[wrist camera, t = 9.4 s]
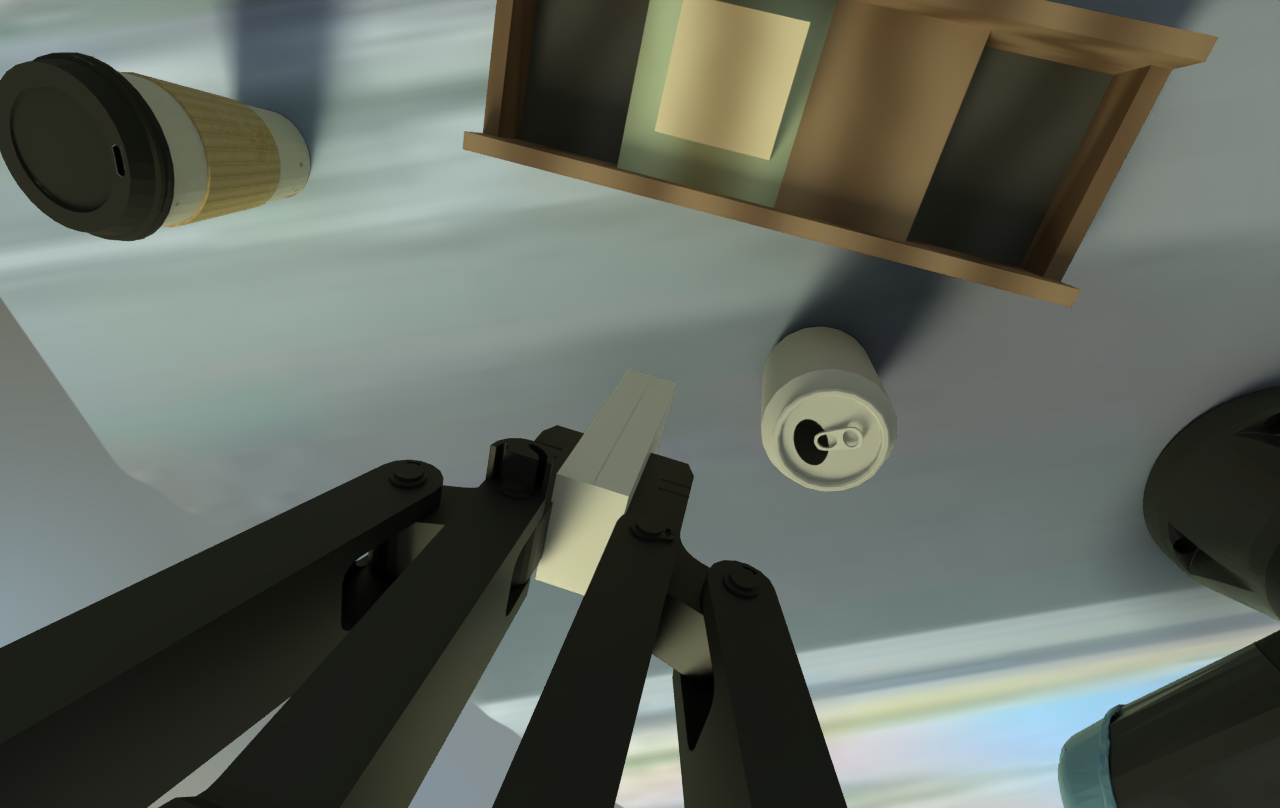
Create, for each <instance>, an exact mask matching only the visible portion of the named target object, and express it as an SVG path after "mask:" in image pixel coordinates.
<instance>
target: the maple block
mask: <svg viewBox="0 0 1280 808" xmlns="http://www.w3.org/2000/svg"><path fill="white" fill-rule="evenodd" d="M809 26H810V22H807V21H803V20H798V19H794V18H790V17H785V16H781V15H777V14H772V13H768V12H764V11H759V10H755V9H751V8H746V7H742V6H737V5H733V4H729V3H724V2H720V1H716V0H683V3H682V8H681V12H680V17H679V22H678V26H677V31H676V35H675V40H674V44H673V49H672V53H671V58H670V63H669V67H668V72H667V76H666V81H665V85H664V90H663V94H662V99H661V104H660V108H659V113H658V117H657V122H656V126H655V131H656V132H660V133H663V134H667V135H670V136H674V137H678V138H682V139H686V140H690V141H694V142H698V143H702V144H706V145H709V146H713V147H717V148H721V149H725V150H729V151H733V152H737V153H741V154H745V155H749V156H753V157H757V158H761V159H765V160H768V161H770V158H771V155H772V151H773V148H774V145H775V141H776V138H777V135H778V131H779V128H780V125H781V121H782V118H783V115H784V111H785V108H786V104H787V101H788V98H789V94H790V91H791V88H792V84H793V81H794V78H795V74H796V71H797V68H798V64H799V61H800V58H801V54H802V51H803V48H804V44H805V40H806V37H807V33H808V30H809Z"/></svg>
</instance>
